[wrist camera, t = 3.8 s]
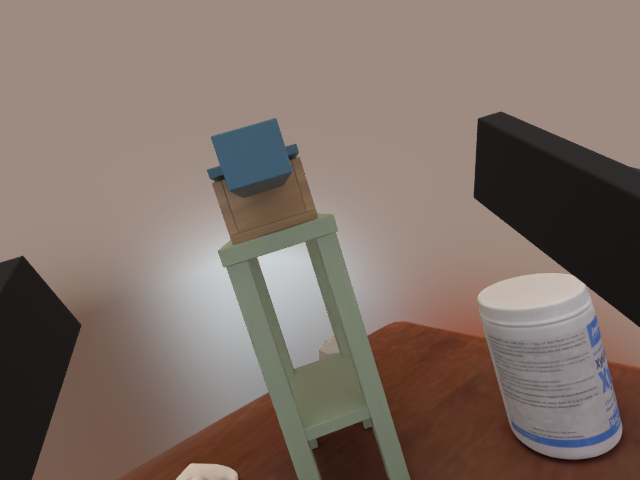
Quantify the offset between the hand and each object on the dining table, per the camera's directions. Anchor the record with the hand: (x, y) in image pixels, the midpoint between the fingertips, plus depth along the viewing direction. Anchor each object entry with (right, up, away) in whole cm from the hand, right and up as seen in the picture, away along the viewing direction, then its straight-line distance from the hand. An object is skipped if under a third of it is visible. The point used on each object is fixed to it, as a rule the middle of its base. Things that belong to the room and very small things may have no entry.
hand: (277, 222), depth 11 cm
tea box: (-3, +1, +28) cm, 28 cm away
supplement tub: (+25, -19, +27) cm, 42 cm away
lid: (-4, +4, +21) cm, 22 cm away
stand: (+5, -25, +31) cm, 40 cm away
